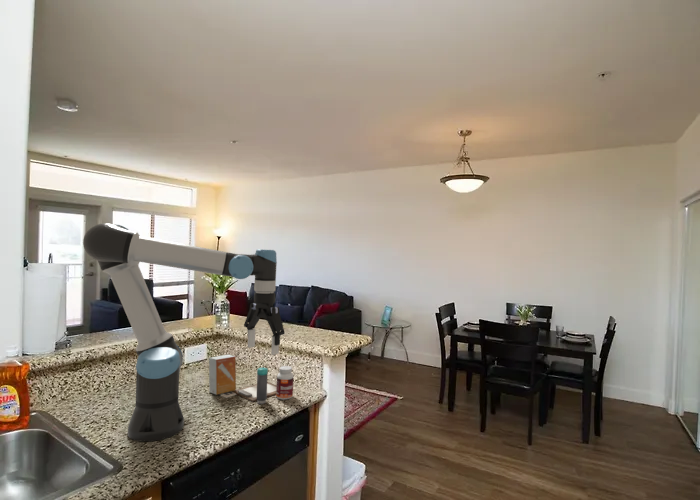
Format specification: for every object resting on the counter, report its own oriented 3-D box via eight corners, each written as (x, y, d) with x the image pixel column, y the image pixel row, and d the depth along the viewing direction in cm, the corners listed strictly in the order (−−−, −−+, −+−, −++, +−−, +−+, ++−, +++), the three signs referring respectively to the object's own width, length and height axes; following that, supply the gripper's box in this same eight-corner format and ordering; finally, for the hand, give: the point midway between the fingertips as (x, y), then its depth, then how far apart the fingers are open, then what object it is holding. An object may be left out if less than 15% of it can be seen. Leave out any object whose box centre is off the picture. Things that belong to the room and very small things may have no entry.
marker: (260, 405, 139) (261, 371, 139) (254, 402, 142) (255, 369, 142) (268, 402, 142) (269, 369, 142) (262, 399, 144) (263, 367, 144)
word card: (226, 397, 145) (226, 396, 145) (218, 394, 148) (218, 393, 148) (242, 392, 150) (242, 391, 150) (234, 389, 154) (234, 388, 154)
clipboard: (252, 401, 142) (252, 398, 142) (232, 392, 150) (232, 388, 150) (286, 390, 154) (286, 387, 154) (265, 382, 163) (266, 379, 163)
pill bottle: (279, 401, 143) (280, 371, 143) (273, 395, 149) (274, 366, 149) (295, 398, 147) (296, 369, 147) (289, 393, 152) (289, 364, 152)
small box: (216, 395, 145) (215, 359, 146) (209, 392, 150) (208, 357, 151) (236, 390, 151) (235, 355, 152) (228, 387, 156) (228, 354, 157)
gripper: (296, 294, 137) (293, 355, 137) (252, 288, 153) (250, 342, 153) (279, 296, 131) (277, 359, 131) (235, 289, 147) (233, 345, 147)
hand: (262, 350), depth 142 cm, fingers open, 13 cm apart
